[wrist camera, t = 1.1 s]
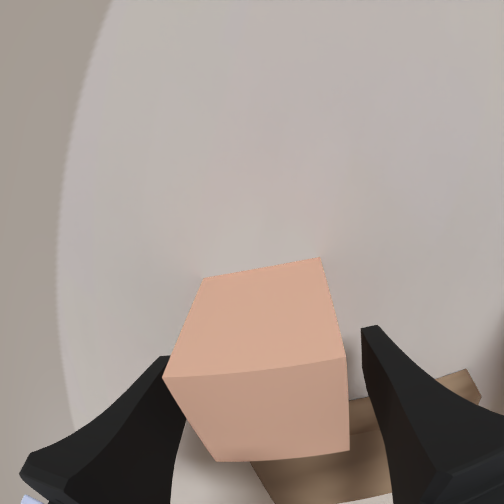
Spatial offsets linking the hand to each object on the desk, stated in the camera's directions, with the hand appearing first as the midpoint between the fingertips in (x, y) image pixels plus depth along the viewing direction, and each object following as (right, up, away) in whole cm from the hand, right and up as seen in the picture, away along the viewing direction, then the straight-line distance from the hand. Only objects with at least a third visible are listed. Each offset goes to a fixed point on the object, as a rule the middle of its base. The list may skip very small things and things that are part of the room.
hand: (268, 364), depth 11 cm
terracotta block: (0, +1, +3) cm, 3 cm away
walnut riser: (+7, -10, +7) cm, 14 cm away
